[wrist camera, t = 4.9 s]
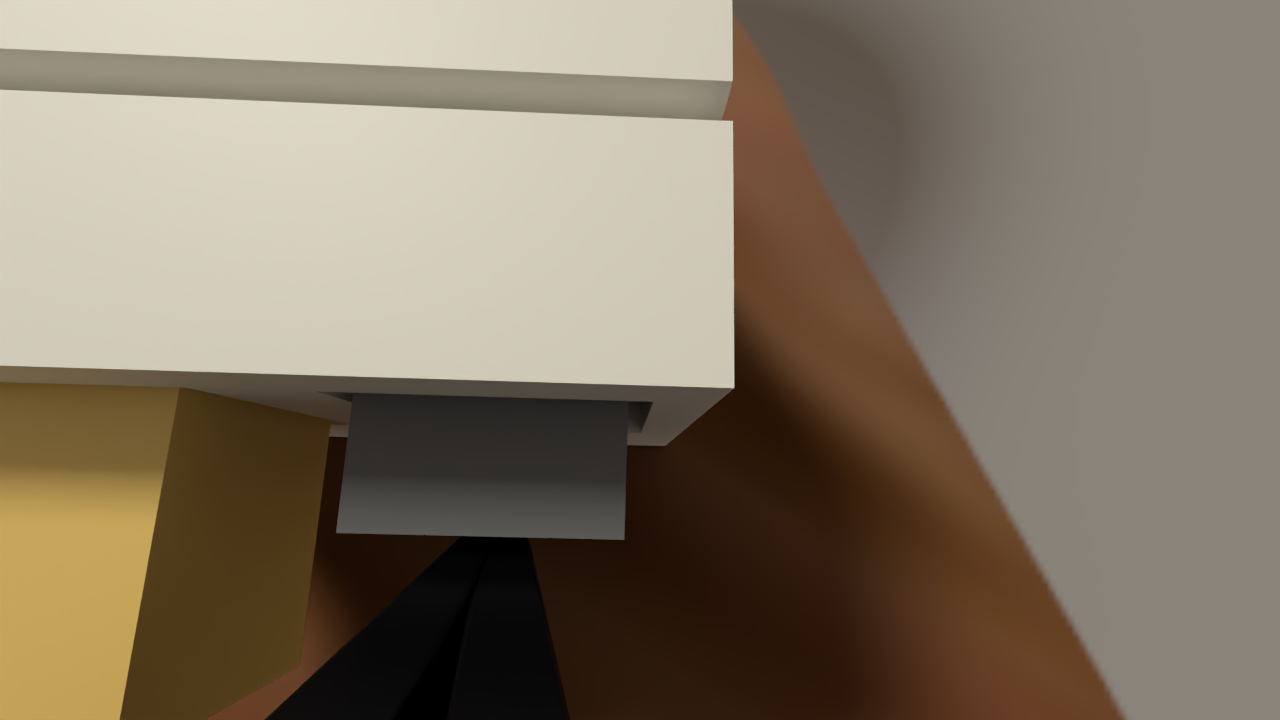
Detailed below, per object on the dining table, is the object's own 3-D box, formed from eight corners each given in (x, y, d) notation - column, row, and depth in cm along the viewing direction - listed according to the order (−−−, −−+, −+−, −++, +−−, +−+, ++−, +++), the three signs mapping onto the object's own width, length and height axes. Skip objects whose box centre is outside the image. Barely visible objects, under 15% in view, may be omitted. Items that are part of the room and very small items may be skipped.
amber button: (300, 665, 10) (109, 774, 7) (98, 662, 10) (-216, 769, 6) (333, 407, 11) (183, 366, 7) (148, 401, 11) (-102, 358, 7)
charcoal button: (622, 520, 11) (624, 539, 7) (436, 516, 11) (336, 533, 7) (629, 287, 12) (634, 191, 8) (457, 280, 12) (379, 181, 8)
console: (665, 446, 15) (735, 387, 6) (224, 433, 15) (-403, 353, 6) (668, 225, 17) (731, -103, 7) (261, 209, 16) (-212, -153, 7)
